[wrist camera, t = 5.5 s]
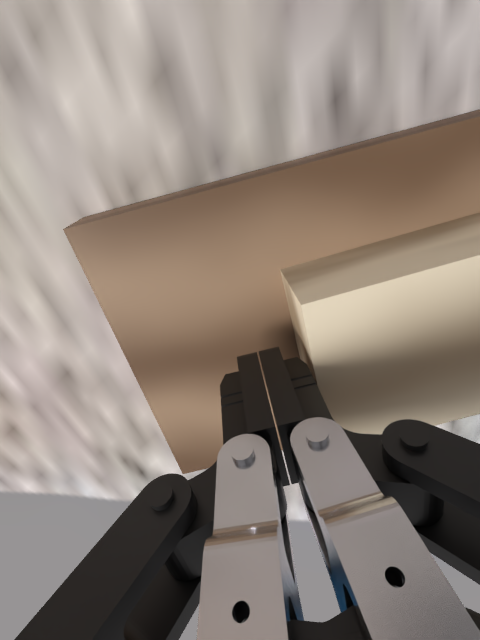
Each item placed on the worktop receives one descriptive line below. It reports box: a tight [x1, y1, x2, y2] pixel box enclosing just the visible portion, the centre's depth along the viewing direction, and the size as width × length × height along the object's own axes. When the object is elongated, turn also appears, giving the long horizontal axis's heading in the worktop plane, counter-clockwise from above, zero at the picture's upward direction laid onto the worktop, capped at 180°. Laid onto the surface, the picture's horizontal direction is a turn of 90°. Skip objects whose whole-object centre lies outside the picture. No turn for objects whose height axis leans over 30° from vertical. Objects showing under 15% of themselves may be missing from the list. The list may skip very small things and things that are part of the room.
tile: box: [280, 212, 480, 434], centre depth 12 cm, size 6×8×3 cm
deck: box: [63, 110, 480, 474], centre depth 14 cm, size 12×16×2 cm
